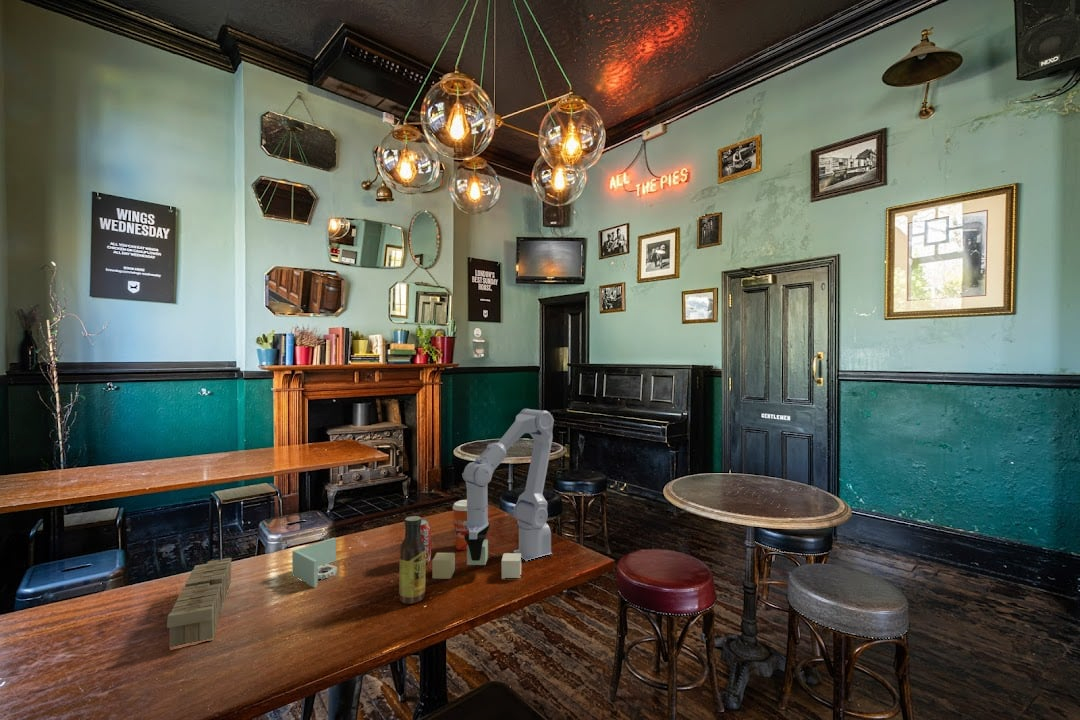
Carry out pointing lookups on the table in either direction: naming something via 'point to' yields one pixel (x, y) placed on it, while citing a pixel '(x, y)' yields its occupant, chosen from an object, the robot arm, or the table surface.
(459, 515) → the paper cup
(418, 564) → the sauce bottle
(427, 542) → the soda can
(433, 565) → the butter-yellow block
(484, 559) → the sage green block
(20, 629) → the table surface
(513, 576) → the cream block
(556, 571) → the table surface
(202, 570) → the block tower
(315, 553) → the right angle wall
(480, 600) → the table surface
